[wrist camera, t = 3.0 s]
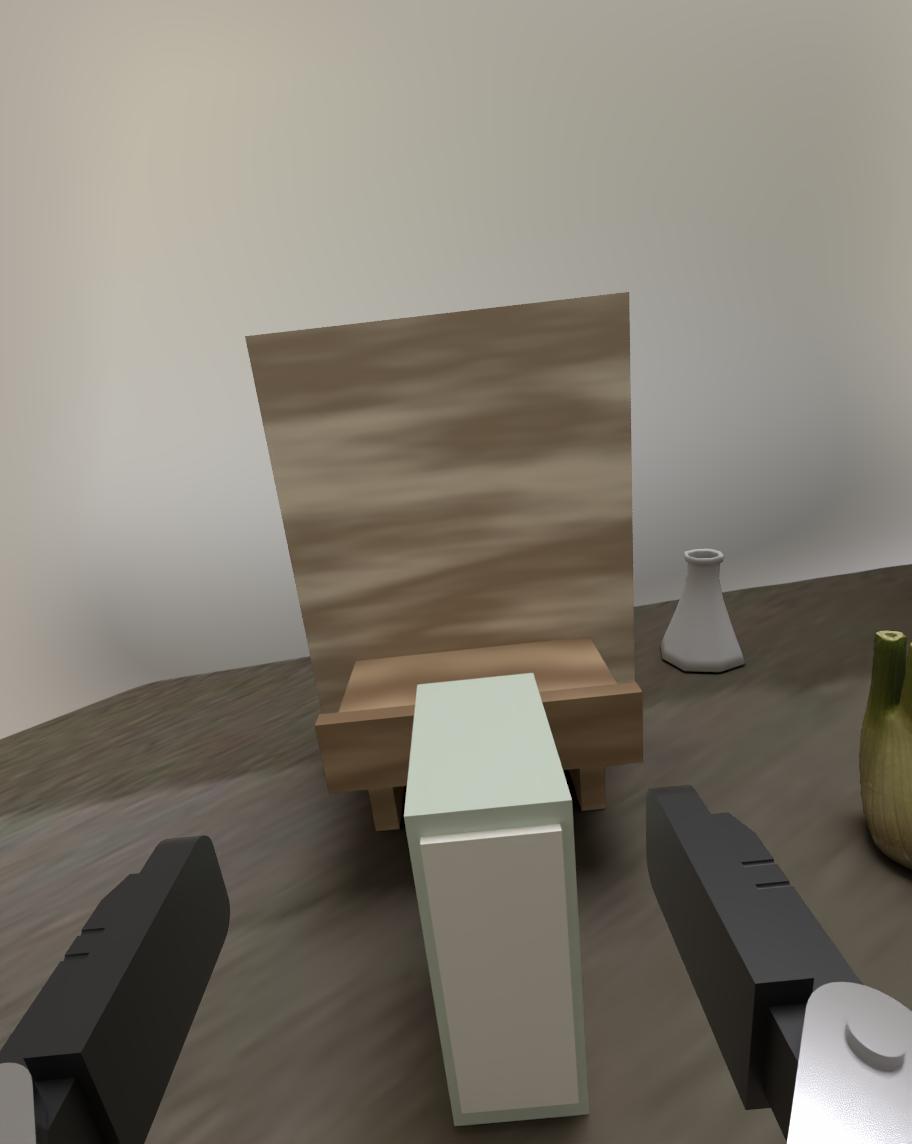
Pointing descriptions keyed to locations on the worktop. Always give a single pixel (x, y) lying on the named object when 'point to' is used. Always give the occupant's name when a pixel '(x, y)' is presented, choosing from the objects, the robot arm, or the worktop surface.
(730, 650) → the flask
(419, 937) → the worktop surface
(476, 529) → the wooden display stand
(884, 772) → the fennel bulb
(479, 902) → the cabinet
